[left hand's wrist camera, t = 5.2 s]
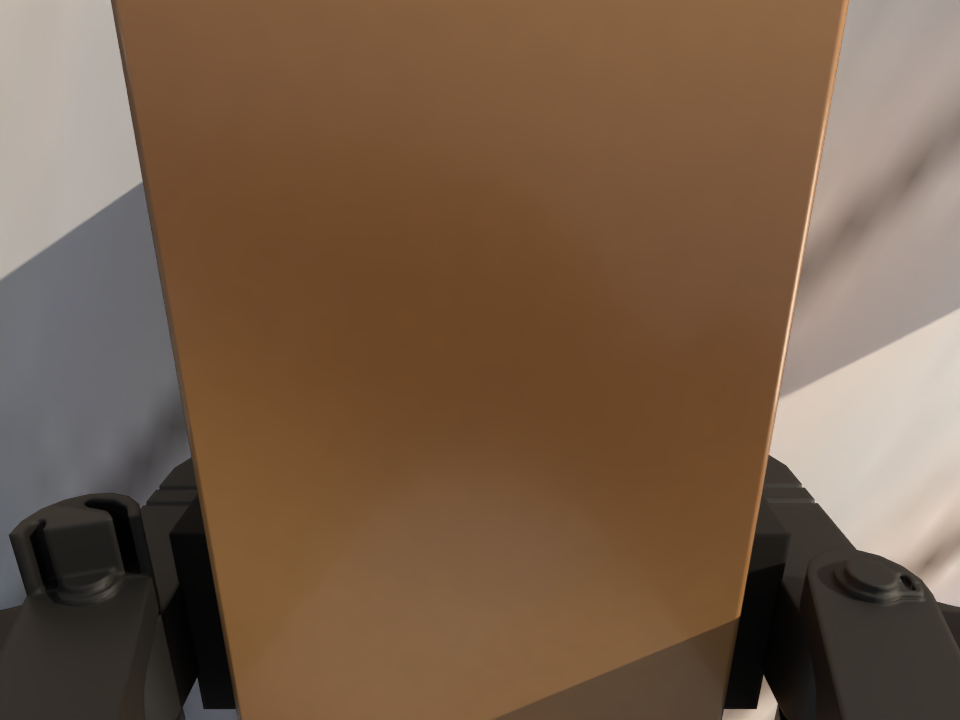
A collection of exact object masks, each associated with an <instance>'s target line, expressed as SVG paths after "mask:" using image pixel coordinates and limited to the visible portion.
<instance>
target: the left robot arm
mask: <svg viewBox="0 0 960 720" xmlns="http://www.w3.org/2000/svg"><path fill="white" fill-rule="evenodd" d="M9 537H10V541H11V544H12V547H13V551H14V554H15V557H16V561H17V564H18V567H19V570H20V574H21V577H22V580H23V584H24V587H25V590H26V594H27V597H26V599H25V601H24V603H23V605H21V606H17V607H13V608H9V609H4V610H0V720H185V715H184V710H183V705H184V703H185V701H186V699H187V697H188V695H189V693H190V691H191V689H192V687H193V685H194V683H195V681H196V678H197V677H198V682H199V687H200V692H201V697H202V702H203V707H204V709H236V705H235V699H234V694H233V688H232V682H231V677H230V671H229V665H228V660H227V654H226V648H225V643H224V637H223V631H222V626H221V620H220V614H219V609H218V603H217V597H216V592H215V586H214V581H213V575H212V569H211V564H210V558H209V552H208V547H207V541H206V535H205V530H204V524H203V518H202V513H201V507H200V501H199V496H198V490H197V484H196V479H195V473H194V467H193V462H192V457H191V458H190V459H188V460H187V461H185V462H183V463H182V464H180V465H178V466H177V467H175V468H174V469H173V470H172V472H171V473H170V474H169V475H168V476H167V478H166V479H165V480H164V481H163V483H162V484H161V485H160V486H159V490H156V491H155V492H154V493H153V495H152V496H151V497H150V498H149V499H148V501H147V504H146V506H143V507H142V508H141V509H140V506H139V504H138V503H137V502H136V501H134V500H133V499H132V498H130V497H129V496H124V495H119V494H114V493H102V494H88V495H84V496H79V497H75V498H70V499H66V500H63V501H60V502H58V503H55V504H53V505H50V506H48V507H45V508H43V509H41V510H39V511H37V512H36V513H34V514H33V515H31V516H29V517H28V518H26V519H25V520H23V521H21V522H20V524H19V525H18V526H17V527H16V528H15V529H14V530H13V531H12V532H11V533H10V534H9ZM763 674H764V676H765V678H766V680H767V682H768V684H769V686H770V688H771V690H772V692H773V694H774V696H775V699H776V701H777V703H778V706H777V710H776V715H775V720H960V607H956V606H951V605H947V604H944V603H940V602H936V600H935V598H934V596H933V594H932V593H931V591H930V590H929V589H928V588H927V586H926V585H925V584H924V582H923V581H922V580H921V579H920V578H918V577H917V576H915V575H914V574H913V573H911V572H910V571H909V570H907V569H906V568H904V567H903V566H901V565H899V564H897V563H894V562H892V561H890V560H888V559H886V558H884V557H881V556H879V555H875V554H871V553H867V552H863V551H859V550H856V549H855V547H854V546H853V545H852V544H851V543H850V541H849V540H848V539H847V538H846V537H845V535H844V534H843V533H842V532H841V531H840V529H839V528H838V527H837V526H836V525H835V523H834V522H833V521H832V520H831V519H830V517H829V516H828V515H827V514H826V513H825V511H824V510H823V509H822V508H821V507H820V505H819V504H818V503H815V502H814V498H813V497H812V496H811V495H810V493H809V492H808V491H807V490H806V489H805V488H802V484H801V483H800V481H799V480H798V479H797V478H796V477H795V475H794V474H793V473H792V472H791V471H790V469H789V468H788V467H787V466H786V465H784V464H783V463H781V462H780V461H778V460H776V459H775V458H773V457H772V456H770V455H769V456H768V461H767V467H766V473H765V478H764V484H763V490H762V495H761V501H760V507H759V512H758V518H757V524H756V529H755V535H754V541H753V546H752V552H751V557H750V563H749V569H748V574H747V580H746V586H745V591H744V597H743V603H742V608H741V614H740V620H739V625H738V631H737V637H736V642H735V648H734V654H733V659H732V665H731V671H730V676H729V682H728V688H727V693H726V699H725V705H724V709H757V704H758V699H759V694H760V689H761V684H762V679H763Z"/></svg>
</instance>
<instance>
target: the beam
mask: <svg viewBox="0 0 960 720" xmlns="http://www.w3.org/2000/svg"><path fill="white" fill-rule="evenodd" d="M848 3H849V0H111V4H112V9H113V15H114V21H115V26H116V32H117V38H118V43H119V49H120V55H121V60H122V66H123V71H124V77H125V83H126V88H127V94H128V100H129V105H130V111H131V117H132V122H133V128H134V134H135V139H136V145H137V151H138V156H139V162H140V168H141V173H142V179H143V185H144V190H145V196H146V202H147V207H148V213H149V219H150V224H151V230H152V235H153V241H154V247H155V252H156V258H157V264H158V269H159V275H160V281H161V286H162V292H163V298H164V303H165V309H166V315H167V320H168V326H169V332H170V337H171V343H172V349H173V354H174V360H175V366H176V371H177V377H178V383H179V388H180V394H181V400H182V405H183V411H184V417H185V422H186V428H187V433H188V439H189V445H190V450H191V456H192V462H193V467H194V473H195V479H196V484H197V490H198V496H199V501H200V507H201V513H202V518H203V524H204V530H205V535H206V541H207V547H208V552H209V558H210V564H211V569H212V575H213V581H214V586H215V592H216V597H217V603H218V609H219V614H220V620H221V626H222V631H223V637H224V643H225V648H226V654H227V660H228V665H229V671H230V677H231V682H232V688H233V694H234V699H235V705H236V711H237V716H238V720H722V716H723V710H724V705H725V699H726V693H727V688H728V682H729V676H730V671H731V665H732V659H733V654H734V648H735V642H736V637H737V631H738V625H739V620H740V614H741V608H742V603H743V597H744V591H745V586H746V580H747V574H748V569H749V563H750V557H751V552H752V546H753V541H754V535H755V529H756V524H757V518H758V512H759V507H760V501H761V495H762V490H763V484H764V478H765V473H766V467H767V461H768V456H769V450H770V444H771V439H772V433H773V427H774V422H775V416H776V410H777V405H778V399H779V394H780V388H781V382H782V377H783V371H784V365H785V360H786V354H787V348H788V343H789V337H790V331H791V326H792V320H793V314H794V309H795V303H796V297H797V292H798V286H799V280H800V275H801V269H802V263H803V258H804V252H805V246H806V241H807V235H808V230H809V224H810V218H811V213H812V207H813V201H814V196H815V190H816V184H817V179H818V173H819V167H820V162H821V156H822V150H823V145H824V139H825V133H826V128H827V122H828V116H829V111H830V105H831V99H832V94H833V88H834V82H835V77H836V71H837V66H838V60H839V54H840V49H841V43H842V37H843V32H844V26H845V20H846V15H847V9H848Z"/></svg>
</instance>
